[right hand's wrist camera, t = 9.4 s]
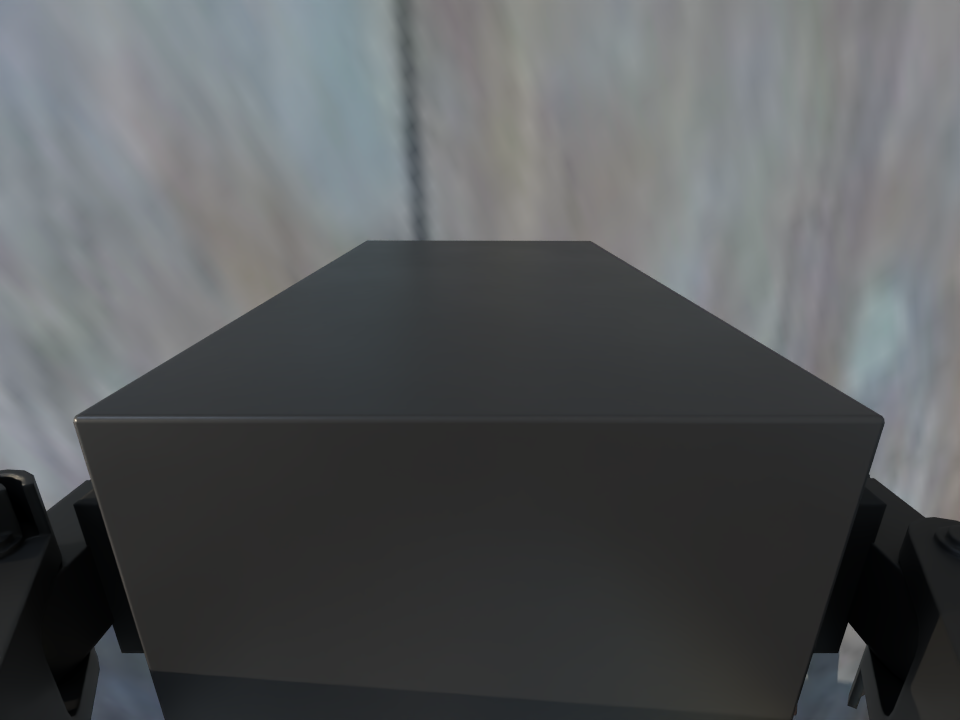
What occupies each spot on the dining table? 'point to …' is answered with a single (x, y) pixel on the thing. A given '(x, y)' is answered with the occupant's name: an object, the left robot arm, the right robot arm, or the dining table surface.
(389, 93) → the dining table surface
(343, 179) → the dining table surface
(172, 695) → the box
